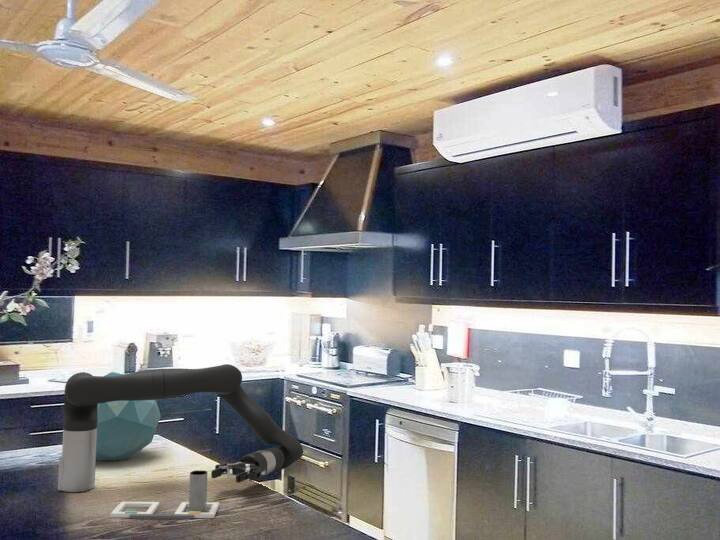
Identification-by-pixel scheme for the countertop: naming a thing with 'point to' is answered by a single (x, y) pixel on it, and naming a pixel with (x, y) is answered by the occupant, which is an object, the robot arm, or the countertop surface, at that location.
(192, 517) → the thin gray bar
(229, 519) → the countertop surface
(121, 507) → the socket
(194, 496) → the planter
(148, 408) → the sculpture
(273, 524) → the countertop surface
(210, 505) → the socket
